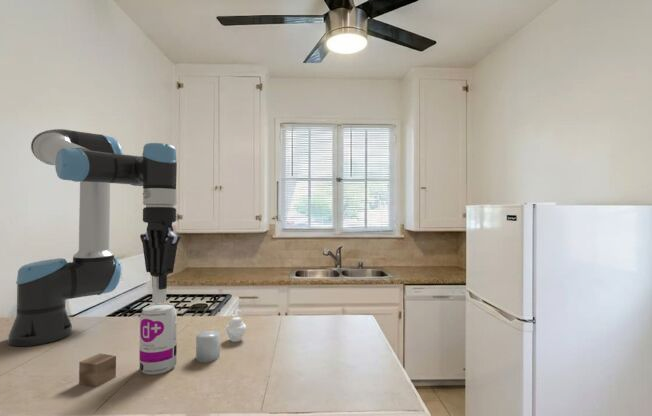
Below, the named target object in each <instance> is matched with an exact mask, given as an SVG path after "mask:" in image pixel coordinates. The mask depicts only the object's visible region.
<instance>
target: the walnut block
mask: <svg viewBox="0 0 652 416" xmlns="http://www.w3.org/2000/svg"><path fill="white" fill-rule="evenodd" d="M78 363H79V367H78V368H79V370H78V371H79V372H78V376H79V377H78V384H79V385H82V386H88V387H93V388H98V387H99V386H102V385H104V384H106V383H107V382H109V381H111V380H113V379H115V378H116V377H117V355H112V354H106V353H100V352H99V353H97V354H95V355H93V356H89V357H88V358H86V359H85V358H84V359H83V360H80V361H79V362H78Z"/></svg>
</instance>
